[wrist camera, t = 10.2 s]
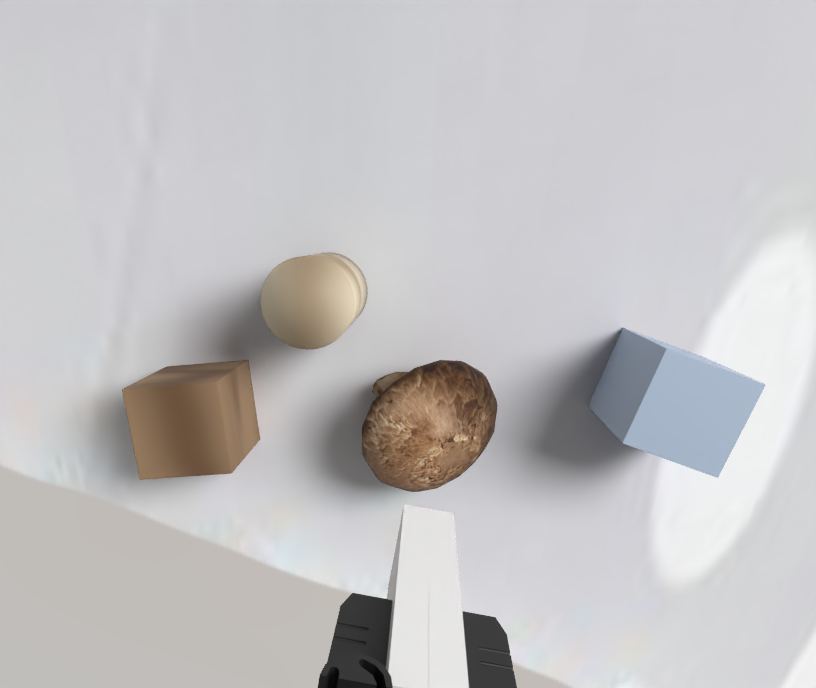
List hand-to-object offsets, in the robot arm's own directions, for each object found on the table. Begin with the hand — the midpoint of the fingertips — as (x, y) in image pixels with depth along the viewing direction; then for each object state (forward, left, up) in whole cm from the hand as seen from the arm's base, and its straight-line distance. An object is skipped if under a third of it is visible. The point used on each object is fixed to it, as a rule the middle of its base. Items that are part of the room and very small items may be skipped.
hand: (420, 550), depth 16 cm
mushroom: (0, -1, -17) cm, 17 cm away
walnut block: (-13, -3, -17) cm, 21 cm away
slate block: (+12, +3, -17) cm, 21 cm away
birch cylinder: (-7, +5, -17) cm, 19 cm away
